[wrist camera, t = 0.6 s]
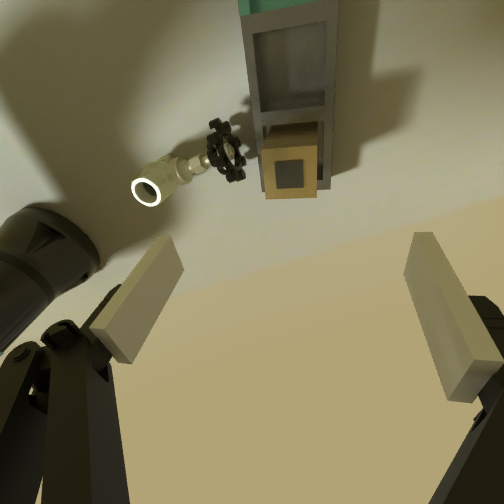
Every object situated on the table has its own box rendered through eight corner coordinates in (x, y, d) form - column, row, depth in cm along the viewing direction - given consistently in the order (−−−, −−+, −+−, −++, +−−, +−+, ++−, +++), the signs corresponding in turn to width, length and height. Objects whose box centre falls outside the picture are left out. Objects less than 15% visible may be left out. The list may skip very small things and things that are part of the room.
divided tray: (265, 180, 33) (261, 192, 30) (233, -109, 19) (221, -128, 17) (329, 177, 31) (330, 189, 29) (343, -144, 18) (346, -170, 15)
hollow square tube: (275, 168, 31) (265, 200, 25) (272, 125, 28) (259, 150, 22) (317, 165, 30) (316, 198, 24) (317, 120, 27) (317, 145, 21)
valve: (172, 195, 37) (251, 166, 32) (150, 222, 32) (239, 192, 27) (143, 150, 33) (226, 109, 29) (112, 171, 28) (207, 126, 24)
